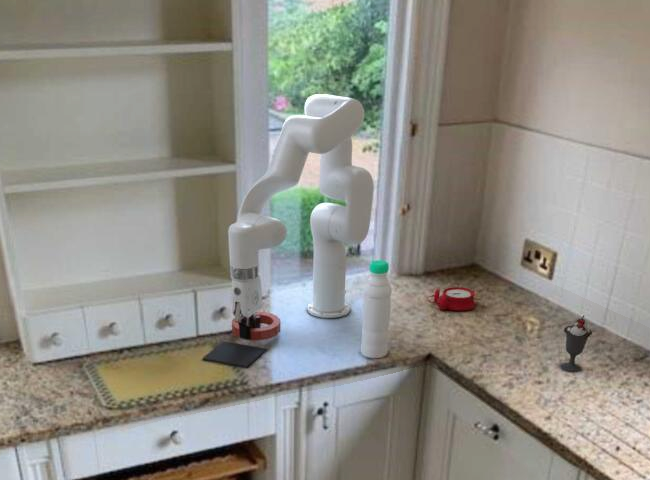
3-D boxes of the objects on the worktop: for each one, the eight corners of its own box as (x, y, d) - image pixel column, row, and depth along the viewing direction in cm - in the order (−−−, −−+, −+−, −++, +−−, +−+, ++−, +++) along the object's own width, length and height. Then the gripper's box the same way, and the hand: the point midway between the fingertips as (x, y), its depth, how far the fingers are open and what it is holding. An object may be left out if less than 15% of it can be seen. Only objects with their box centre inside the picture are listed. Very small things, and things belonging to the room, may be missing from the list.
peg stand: (253, 330, 227) (253, 312, 225) (269, 333, 226) (269, 314, 223) (245, 336, 224) (245, 318, 221) (262, 339, 222) (261, 321, 219)
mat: (223, 342, 220) (223, 341, 220) (266, 350, 216) (266, 348, 215) (202, 359, 211) (202, 358, 211) (247, 368, 206) (247, 366, 206)
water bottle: (386, 360, 209) (392, 267, 196) (359, 358, 211) (363, 266, 198) (388, 349, 215) (394, 258, 202) (362, 347, 216) (366, 257, 203)
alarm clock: (484, 299, 236) (436, 290, 233) (477, 318, 239) (430, 310, 236) (474, 286, 245) (428, 278, 242) (467, 305, 248) (422, 297, 245)
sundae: (571, 375, 200) (582, 319, 192) (551, 365, 205) (561, 310, 198) (590, 370, 203) (602, 314, 195) (570, 360, 208) (581, 305, 200)
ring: (245, 317, 230) (244, 309, 229) (287, 324, 225) (287, 315, 224) (224, 335, 220) (223, 327, 219) (268, 343, 215) (268, 334, 214)
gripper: (244, 283, 201) (247, 350, 211) (270, 263, 213) (272, 327, 223) (217, 279, 203) (222, 345, 213) (245, 259, 216) (248, 323, 226)
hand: (247, 335), depth 218 cm, fingers closed on ring, 2 cm apart
